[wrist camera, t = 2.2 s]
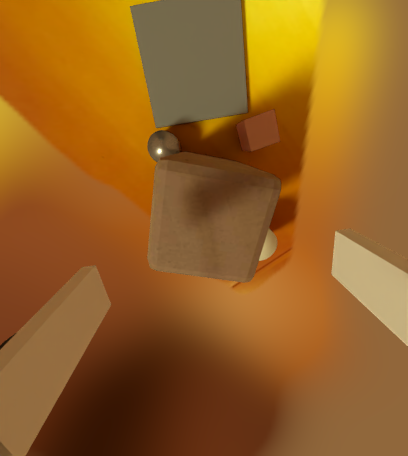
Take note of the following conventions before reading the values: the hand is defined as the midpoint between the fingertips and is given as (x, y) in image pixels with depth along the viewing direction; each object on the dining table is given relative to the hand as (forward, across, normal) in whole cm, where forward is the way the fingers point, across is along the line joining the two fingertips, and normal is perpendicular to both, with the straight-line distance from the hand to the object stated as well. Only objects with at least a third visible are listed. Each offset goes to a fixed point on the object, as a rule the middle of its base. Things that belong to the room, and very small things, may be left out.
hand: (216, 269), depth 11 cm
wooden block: (+26, 0, 0) cm, 26 cm away
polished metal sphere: (+25, -5, +7) cm, 27 cm away
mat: (+25, +1, +17) cm, 31 cm away
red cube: (+25, +8, +7) cm, 28 cm away
